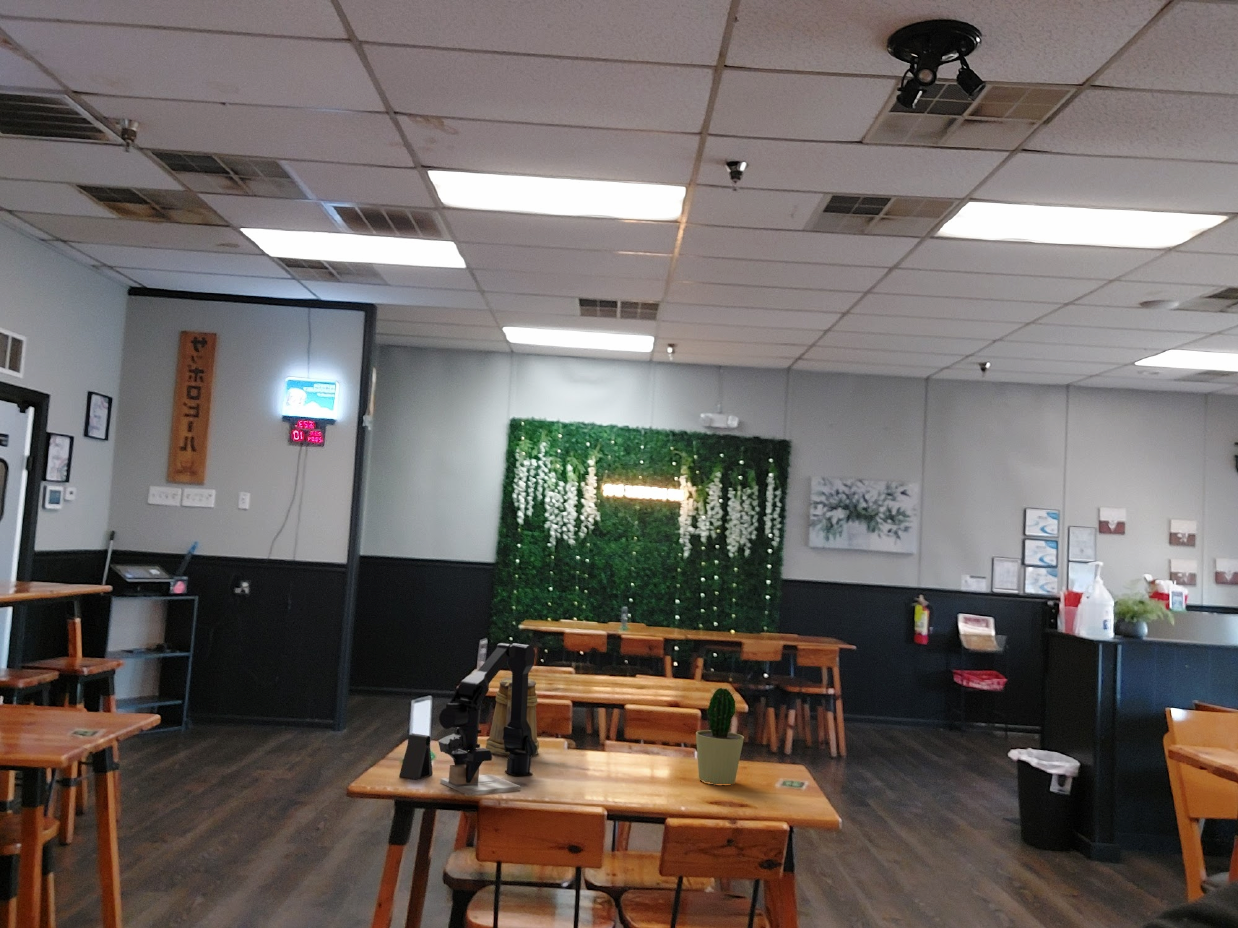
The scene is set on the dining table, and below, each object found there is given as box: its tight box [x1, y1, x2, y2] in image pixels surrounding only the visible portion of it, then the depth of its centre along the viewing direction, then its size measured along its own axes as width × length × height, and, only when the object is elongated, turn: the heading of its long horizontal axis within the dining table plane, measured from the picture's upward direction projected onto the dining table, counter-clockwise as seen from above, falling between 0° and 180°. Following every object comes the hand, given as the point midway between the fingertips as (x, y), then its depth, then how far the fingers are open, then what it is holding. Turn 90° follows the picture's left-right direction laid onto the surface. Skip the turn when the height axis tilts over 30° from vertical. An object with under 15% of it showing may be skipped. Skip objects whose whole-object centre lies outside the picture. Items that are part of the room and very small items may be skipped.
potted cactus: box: [695, 687, 745, 785], centre depth 325 cm, size 15×15×30 cm
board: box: [440, 773, 522, 797], centre depth 293 cm, size 17×16×1 cm
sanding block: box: [448, 764, 480, 787], centre depth 289 cm, size 7×4×5 cm, turn 129°
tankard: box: [485, 676, 540, 758], centre depth 344 cm, size 18×24×25 cm
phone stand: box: [398, 732, 434, 781], centre depth 300 cm, size 9×6×12 cm, turn 160°
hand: (463, 780), depth 289 cm, fingers closed on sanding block, 4 cm apart
